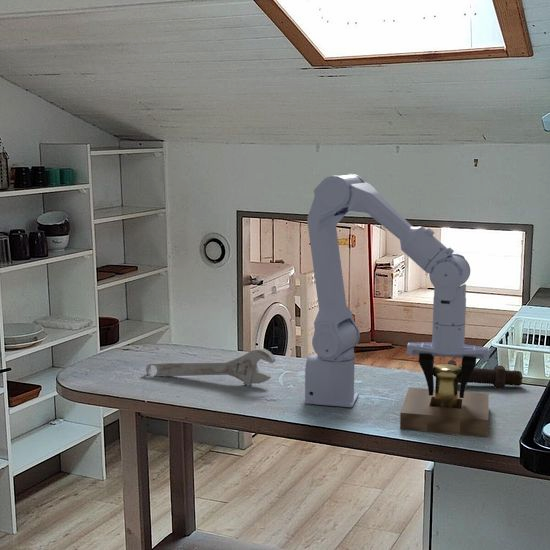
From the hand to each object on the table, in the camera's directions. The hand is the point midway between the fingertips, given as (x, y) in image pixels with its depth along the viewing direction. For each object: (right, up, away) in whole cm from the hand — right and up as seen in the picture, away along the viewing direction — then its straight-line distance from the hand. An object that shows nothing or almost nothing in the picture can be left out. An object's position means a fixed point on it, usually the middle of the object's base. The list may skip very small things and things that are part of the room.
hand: (446, 395), depth 145 cm
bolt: (+12, -2, +20) cm, 23 cm away
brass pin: (0, -3, +1) cm, 3 cm away
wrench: (-45, -1, +24) cm, 51 cm away
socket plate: (0, -4, +1) cm, 4 cm away
